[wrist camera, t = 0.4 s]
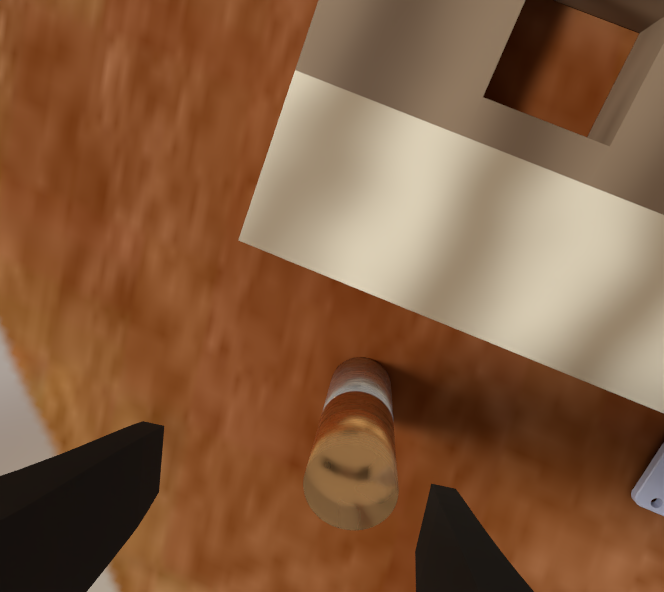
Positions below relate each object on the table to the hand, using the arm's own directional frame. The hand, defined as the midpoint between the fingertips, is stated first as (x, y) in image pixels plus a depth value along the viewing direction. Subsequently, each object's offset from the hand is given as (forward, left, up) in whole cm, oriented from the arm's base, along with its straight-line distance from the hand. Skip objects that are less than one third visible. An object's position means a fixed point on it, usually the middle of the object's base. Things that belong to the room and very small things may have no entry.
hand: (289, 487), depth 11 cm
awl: (-2, +1, -10) cm, 10 cm away
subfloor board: (-4, -13, -10) cm, 17 cm away
